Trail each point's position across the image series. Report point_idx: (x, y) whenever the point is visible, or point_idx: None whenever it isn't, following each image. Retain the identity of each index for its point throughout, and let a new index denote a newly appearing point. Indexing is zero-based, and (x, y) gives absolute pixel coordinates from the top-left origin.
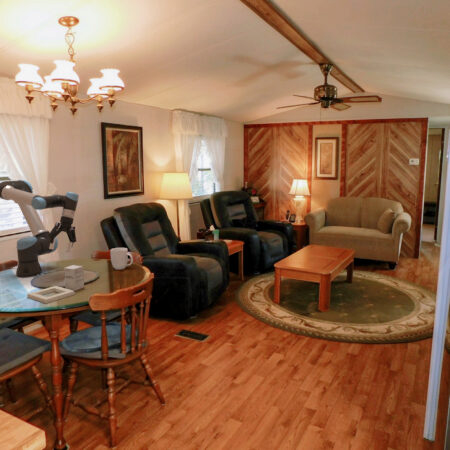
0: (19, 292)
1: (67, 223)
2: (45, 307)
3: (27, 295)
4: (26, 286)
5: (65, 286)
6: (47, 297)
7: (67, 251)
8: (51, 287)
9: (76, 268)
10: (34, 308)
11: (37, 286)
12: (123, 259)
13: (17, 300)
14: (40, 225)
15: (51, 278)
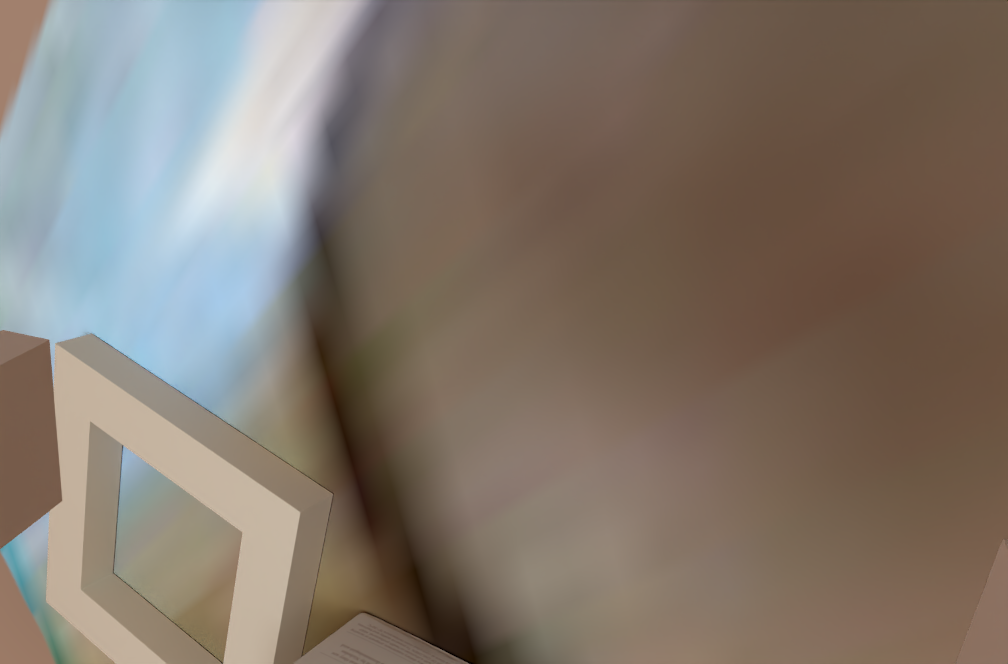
0: (135, 122)
1: None
2: (42, 616)
3: (72, 339)
4: (288, 5)
5: (337, 631)
6: (75, 592)
7: (990, 623)
8: (244, 490)
9: None
10: (6, 545)
11: (334, 171)
12: None
13: (28, 292)
14: None
15: (737, 73)
